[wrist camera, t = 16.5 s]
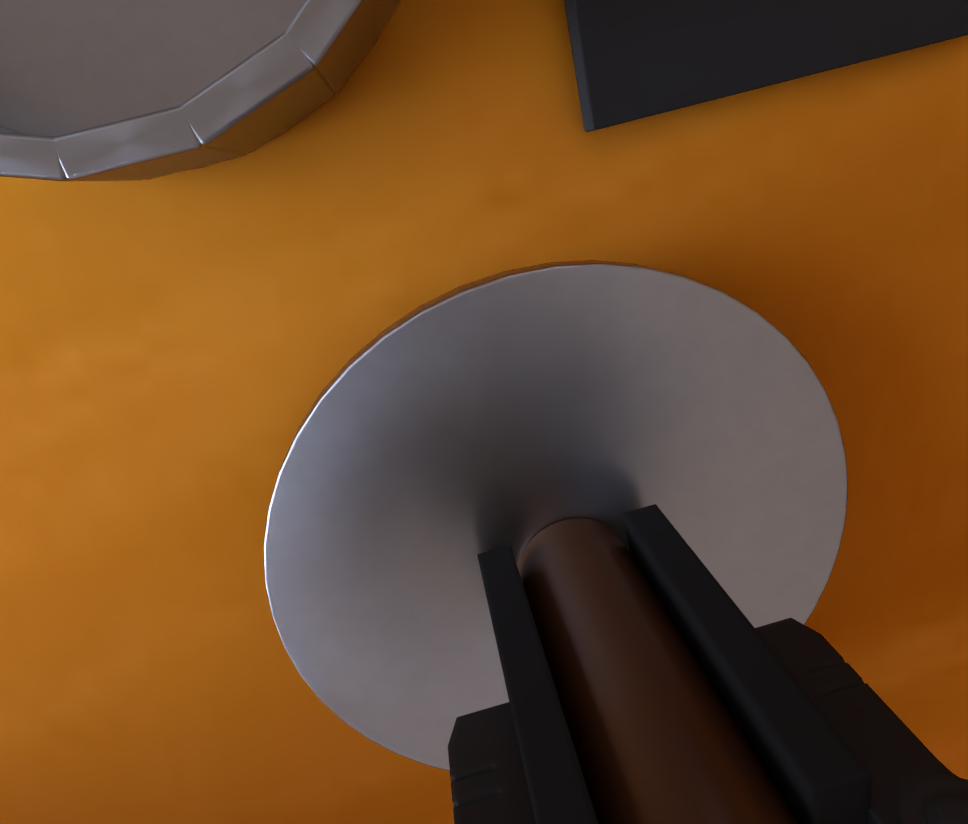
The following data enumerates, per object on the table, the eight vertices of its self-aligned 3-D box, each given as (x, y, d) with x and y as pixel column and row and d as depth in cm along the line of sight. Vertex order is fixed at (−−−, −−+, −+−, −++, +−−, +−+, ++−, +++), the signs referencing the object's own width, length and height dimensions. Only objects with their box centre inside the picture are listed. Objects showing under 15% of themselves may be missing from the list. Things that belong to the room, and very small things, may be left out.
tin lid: (374, 795, 18) (358, 1284, 10) (172, 352, 12) (-206, 647, 5) (821, 663, 18) (1141, 1026, 10) (810, 184, 13) (1440, 193, 5)
